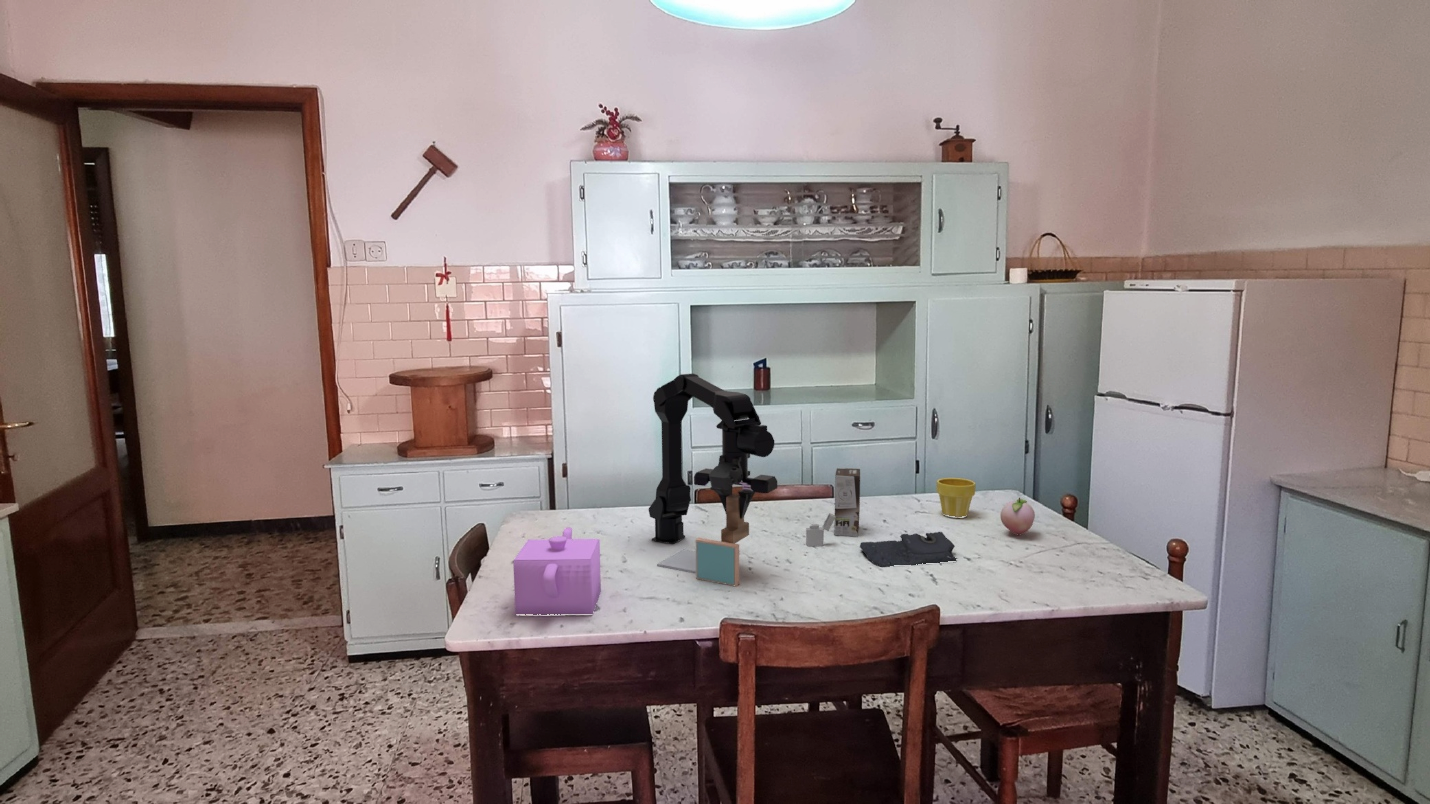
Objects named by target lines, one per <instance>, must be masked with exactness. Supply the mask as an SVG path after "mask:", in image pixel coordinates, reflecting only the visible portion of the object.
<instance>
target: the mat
mask: <svg viewBox="0 0 1430 804" xmlns="http://www.w3.org/2000/svg"><path fill="white" fill-rule="evenodd" d="M656 567H659V568H660V567H661V568H666V569H671V568H672V570H677V571H681V570H683V571H682V572H688V573H692V572H693V573H692V574H696V550H690V549H686V548H682V549H681V550H679V551H678V552H675V553H674V554H672V555H670V556H669V557H667V558H665V559H663V560H661V561H660V562H657V563H656Z"/></svg>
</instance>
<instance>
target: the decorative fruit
mask: <svg viewBox="0 0 1430 804" xmlns="http://www.w3.org/2000/svg"><path fill="white" fill-rule="evenodd" d="M1035 516H1036V514H1035V510H1034V508H1033V507H1032V504H1031V505H1030V504H1029V503H1028V501H1027V500H1026V499H1023V498H1021V497H1019V498H1018V499H1016V500H1013V501H1009V502H1007V503H1005V505H1003V507H1002V508H1001V510H1000V521H1001V523H1002V525H1003V526H1004V527H1005V528H1006V529H1007V530H1008V531H1009V532H1011V533H1013V534H1014V535H1017V534H1018V535H1017V536H1020V534H1021V535H1023V534H1025V533H1027V532H1028V531H1029V530H1030V529H1031V528H1032V526H1033V524H1034V521H1035V518H1036V517H1035Z"/></svg>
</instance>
